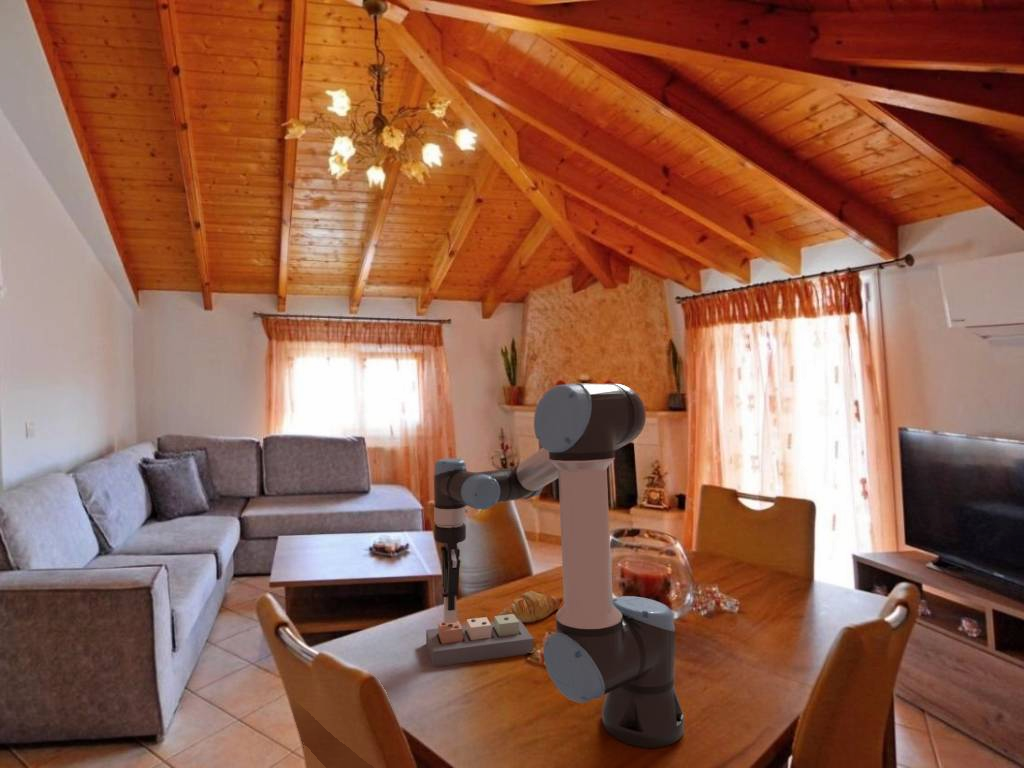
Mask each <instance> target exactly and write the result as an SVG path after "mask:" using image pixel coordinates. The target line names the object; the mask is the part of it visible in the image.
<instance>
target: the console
mask: <svg viewBox="0 0 1024 768" xmlns="http://www.w3.org/2000/svg"><path fill="white" fill-rule="evenodd" d="M518 621H519V634H516V635H508V636H500V637H499V635H498V633H497V632H496V630H495V628H494V621H489V622H490V624H491V638H485V639H477V640H471V639H470V637H469V635H468V633H467V624H464V625H461V626H462V628H463V641H461V642H453V643H445V644H442V643H441V641H440V638H439V635H438V628H430V629H426V630H425V632H426V633H425V636H426V638H425V639H426V640H425V643H426V644H425V645H426V648H427V650H428V654H429V658H430V660H431V663H432V667H434V668H435V667H441V666H449V665H455V664H456V665H457V664H463V663H472V662H478V661H486V660H493V659H500V658H507V657H514V656H515V657H516V656H521V655H528V654H527V653H529V652H532V651H533V652H534V637H533V636H532V634H531V633H530V632H529V630H528V629H527V627H526V626H525V624H524V623H522V622H521V621H520V619H518Z"/></svg>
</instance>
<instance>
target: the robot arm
mask: <svg viewBox="0 0 1024 768" xmlns="http://www.w3.org/2000/svg"><path fill="white" fill-rule="evenodd" d="M542 396H543V397H542V398H540V399H539V401H538V403H537V405H536V409H535V412H534V418H533V428H534V429H533V430H534V434H535V438H536V439H538V444H539V445H540V446H541V448H540V449H539V450H537V451H535V452H534V453H533V454H530V455H529V457H527V458H525V459H524V460H522V461H521V462H520V463H518V464H516V465H515V466H513V467H510V468H502V469H495V470H485V471H479V472H472V471H468V470H467V465H466V461H465V460H464V459H462V458H440V459H437V460H436V461H435V463H434V474H433V488H434V489H433V490H434V491H433V496H434V497H433V498H434V506H433V518H434V519H433V522H434V523H435V525H434V530H433V531H434V536H433V537H434V541H435V542H437V543H440V544H442V545H440V553H441V573H442V574H441V576H442V578H441V579H442V588H443V593H442V598H443V615H444V616H443V622H445V624H446V623H455V622H456V621H457V597H458V596H459V586H460V585H459V584H460V583H459V582H460V581H459V580H460V566H461V559H460V558H459V557H460V556H461V555H460V554H461V553H460V552H461V550H460V548H458V544H459V543H462V542H464V541H465V540H466V538H467V534H466V533H467V526H466V524H465V523H466V521H467V520H466V517H467V515H466V514H467V513H468V512H469V509H468V508H466V506H467V507H470V508H473V509H474V510H489V509H491V508H493V507H494V506H496V504H499V503H506V502H511V501H517V500H528V499H531V498H535V497H537V496H539V495H540V494H541V493H542V490H543V489H544V487H545V486H547V485H549V484H550V483H552V482H554V481H556V480H557V479H558V491H559V493H558V495H559V496H558V499H559V518H560V539H561V541H560V542H561V543H560V544H561V561H562V562H561V563H562V568H561V569H562V582H563V583H562V586H563V605H562V606H561V607H560V609H558V611H556V614H555V626H556V627H555V628H556V632H554V633H551V634H549V636H548V637H547V639H546V640H545V642H544V645H543V661H544V664H545V667H546V671H547V673H548V676H549V678H550V679H551V681H552V682H553V684H554V685H555V687H556V688H557V690H558V691H559V692H560V693H561V694H562V695H563V696H564V697H566V698H567V699H568V700H570V701H572V702H575V703H579V704H580V703H581V704H584V703H588V702H590V701H593V700H598V699H602V697H603V696H604V695H605V698H604V700H603V704H602V708H601V721H602V725H603V727H604V729H605V730H606V731H607V732H608V734H609V735H611V736H612V737H614V738H615V739H616V740H619V742H622V743H625V744H627V745H631V746H634V747H639V748H645V749H646V748H647V749H649V748H651V749H653V748H654V749H656V748H664V747H668V746H670V745H673V744H676V742H678V741H679V740H680V739H681V738H682V736H683V735H684V731H685V727H684V726H685V723H684V722H685V719H684V714H683V710H682V707H681V704H680V701H679V697H678V695H677V691H676V689H675V688H676V687H675V632H676V628H675V621H674V618H675V617H674V613H673V611H672V610H671V609H670V607H669V606H667V605H666V604H664V603H662V602H660V601H657V600H654V599H651V598H648V597H647V598H646V597H640V596H633V595H632V596H629V595H625V596H624V595H623V596H622V595H621V596H617V597H615V598H614V597H613V578H612V576H613V575H612V574H613V573H612V556H611V555H612V552H611V551H612V550H611V533H610V529H611V528H610V511H609V510H610V509H609V493H608V491H609V490H608V470H607V469H608V467H609V466H610V465H611V464H612V462H613V461H614V460H615V459H616V458H615V456H616V455H615V454H616V453H615V451H618V450H619V449H621V448H622V447H624V446H626V445H628V444H629V443H632V442H633V441H634V440H636V439H637V438H638V437H639V435H640V434H641V433H642V432H643V430H644V427H645V424H646V418H647V413H646V407H645V405H644V402H643V400H642V399H641V397H640V396H639V394H638V393H637V392H635V391H634V390H633V389H632V388H630V387H629V386H626V385H623V384H621V383H615V382H614V383H609V382H607V383H585V382H583V383H582V382H581V383H580V382H577V383H575V382H572V383H567V384H558V385H554V386H553V387H551V388H550V389H548V390H546V391H545V392H544V394H543V395H542Z"/></svg>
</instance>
